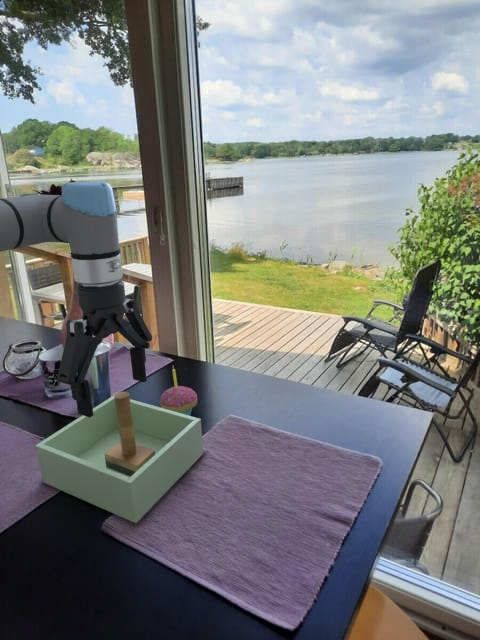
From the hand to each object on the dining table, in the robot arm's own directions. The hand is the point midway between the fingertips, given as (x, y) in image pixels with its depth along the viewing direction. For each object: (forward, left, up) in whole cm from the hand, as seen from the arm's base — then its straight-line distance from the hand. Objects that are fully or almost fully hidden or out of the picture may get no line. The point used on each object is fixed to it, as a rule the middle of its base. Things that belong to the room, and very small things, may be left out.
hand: (114, 396), depth 79 cm
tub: (0, 0, -15) cm, 15 cm away
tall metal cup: (-21, +14, -16) cm, 29 cm away
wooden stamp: (+2, 0, -14) cm, 14 cm away
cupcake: (-1, +19, -16) cm, 25 cm away
